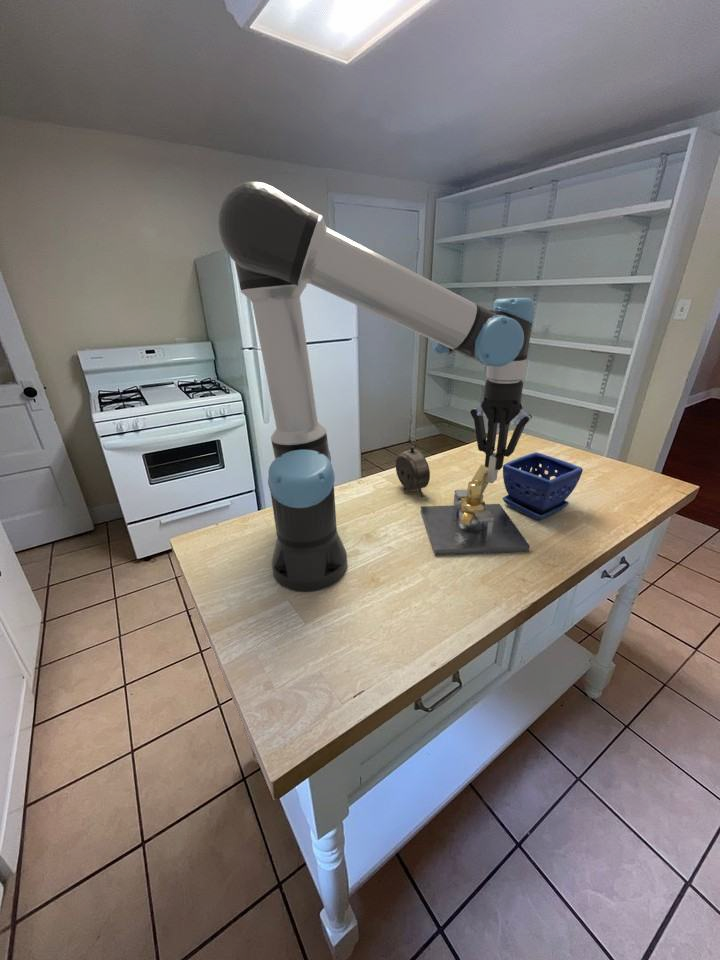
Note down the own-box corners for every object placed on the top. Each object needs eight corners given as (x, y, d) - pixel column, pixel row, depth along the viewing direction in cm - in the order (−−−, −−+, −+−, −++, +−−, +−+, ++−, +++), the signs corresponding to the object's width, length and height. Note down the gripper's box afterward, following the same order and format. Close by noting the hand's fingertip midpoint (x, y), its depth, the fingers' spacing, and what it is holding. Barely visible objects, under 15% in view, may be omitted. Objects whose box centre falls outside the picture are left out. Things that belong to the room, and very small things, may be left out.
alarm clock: (429, 497, 103) (433, 441, 96) (413, 502, 101) (415, 445, 94) (407, 481, 112) (409, 429, 105) (391, 485, 110) (392, 432, 103)
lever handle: (477, 527, 80) (480, 499, 77) (452, 521, 83) (455, 494, 80) (493, 492, 94) (497, 467, 91) (472, 487, 96) (475, 463, 93)
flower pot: (541, 528, 89) (551, 482, 84) (495, 504, 99) (501, 462, 94) (574, 511, 95) (585, 467, 90) (527, 490, 105) (535, 450, 100)
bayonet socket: (434, 555, 81) (436, 526, 77) (420, 511, 97) (421, 486, 94) (528, 552, 81) (534, 523, 78) (498, 508, 97) (502, 483, 94)
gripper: (542, 379, 79) (524, 481, 89) (481, 373, 86) (472, 468, 97) (531, 386, 74) (514, 494, 84) (467, 379, 81) (459, 479, 91)
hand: (491, 480), depth 90 cm, fingers closed
